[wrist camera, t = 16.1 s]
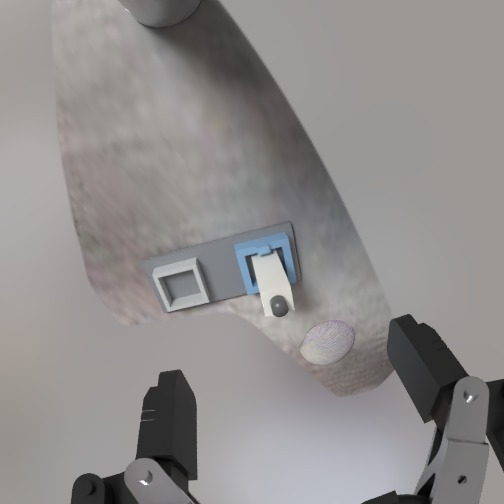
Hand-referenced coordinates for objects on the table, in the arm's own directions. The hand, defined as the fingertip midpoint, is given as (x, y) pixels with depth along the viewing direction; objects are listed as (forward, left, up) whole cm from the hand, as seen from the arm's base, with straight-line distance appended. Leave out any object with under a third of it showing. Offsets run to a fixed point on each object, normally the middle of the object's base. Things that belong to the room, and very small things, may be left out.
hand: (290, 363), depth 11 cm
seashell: (+30, -14, -32) cm, 46 cm away
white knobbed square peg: (+10, -7, -31) cm, 33 cm away
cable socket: (+6, -12, -31) cm, 34 cm away
